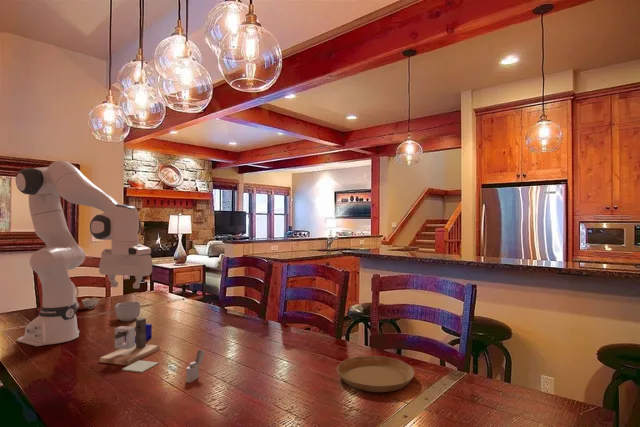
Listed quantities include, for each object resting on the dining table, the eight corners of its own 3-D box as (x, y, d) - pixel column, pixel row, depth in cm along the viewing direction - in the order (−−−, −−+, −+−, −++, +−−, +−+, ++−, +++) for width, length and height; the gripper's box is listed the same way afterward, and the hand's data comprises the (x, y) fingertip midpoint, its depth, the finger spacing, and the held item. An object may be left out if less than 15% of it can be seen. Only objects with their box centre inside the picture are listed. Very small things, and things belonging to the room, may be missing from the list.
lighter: (190, 382, 114) (190, 356, 114) (185, 382, 114) (186, 356, 115) (204, 373, 121) (204, 349, 121) (200, 373, 121) (200, 348, 121)
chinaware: (69, 322, 187) (72, 289, 187) (36, 318, 187) (40, 285, 187) (102, 309, 215) (105, 280, 215) (74, 305, 215) (77, 277, 215)
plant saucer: (336, 364, 130) (336, 354, 130) (405, 365, 129) (405, 355, 129) (337, 396, 106) (337, 385, 106) (422, 398, 105) (422, 386, 105)
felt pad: (121, 370, 123) (121, 369, 123) (139, 361, 131) (139, 360, 131) (142, 372, 121) (142, 371, 121) (158, 363, 129) (158, 362, 129)
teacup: (144, 319, 187) (144, 303, 187) (123, 324, 178) (123, 307, 178) (128, 315, 194) (128, 299, 195) (107, 319, 185) (107, 303, 185)
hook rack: (99, 361, 130) (100, 327, 131) (133, 346, 146) (133, 316, 146) (128, 365, 127) (128, 330, 128) (159, 349, 143) (159, 318, 143)
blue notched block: (142, 337, 158) (142, 323, 158) (151, 338, 157) (151, 324, 157) (121, 347, 146) (121, 331, 146) (131, 348, 145) (131, 332, 145)
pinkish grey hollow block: (114, 347, 133) (114, 328, 133) (121, 345, 136) (121, 325, 136) (128, 349, 132) (128, 329, 132) (134, 346, 135) (135, 327, 135)
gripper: (94, 249, 134) (94, 287, 134) (142, 250, 129) (142, 290, 129) (108, 248, 140) (108, 284, 140) (155, 248, 135) (155, 287, 135)
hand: (125, 287), depth 134 cm, fingers open, 8 cm apart
